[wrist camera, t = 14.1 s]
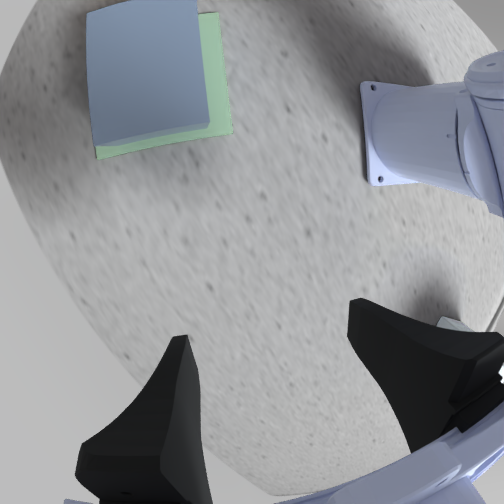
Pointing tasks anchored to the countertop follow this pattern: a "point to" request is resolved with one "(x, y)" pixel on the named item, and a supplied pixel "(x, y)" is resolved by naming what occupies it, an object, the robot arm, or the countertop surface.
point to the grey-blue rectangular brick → (145, 71)
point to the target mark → (214, 90)
